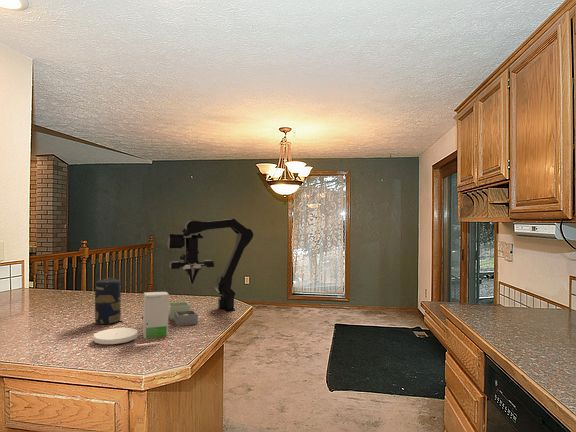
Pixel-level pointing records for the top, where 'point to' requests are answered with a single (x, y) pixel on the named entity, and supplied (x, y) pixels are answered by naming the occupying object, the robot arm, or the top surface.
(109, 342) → the plastic lid
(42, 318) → the top surface
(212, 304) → the top surface
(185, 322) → the grey open box
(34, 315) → the top surface
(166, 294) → the skincare box
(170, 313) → the pale green hollow box
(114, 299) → the canister
